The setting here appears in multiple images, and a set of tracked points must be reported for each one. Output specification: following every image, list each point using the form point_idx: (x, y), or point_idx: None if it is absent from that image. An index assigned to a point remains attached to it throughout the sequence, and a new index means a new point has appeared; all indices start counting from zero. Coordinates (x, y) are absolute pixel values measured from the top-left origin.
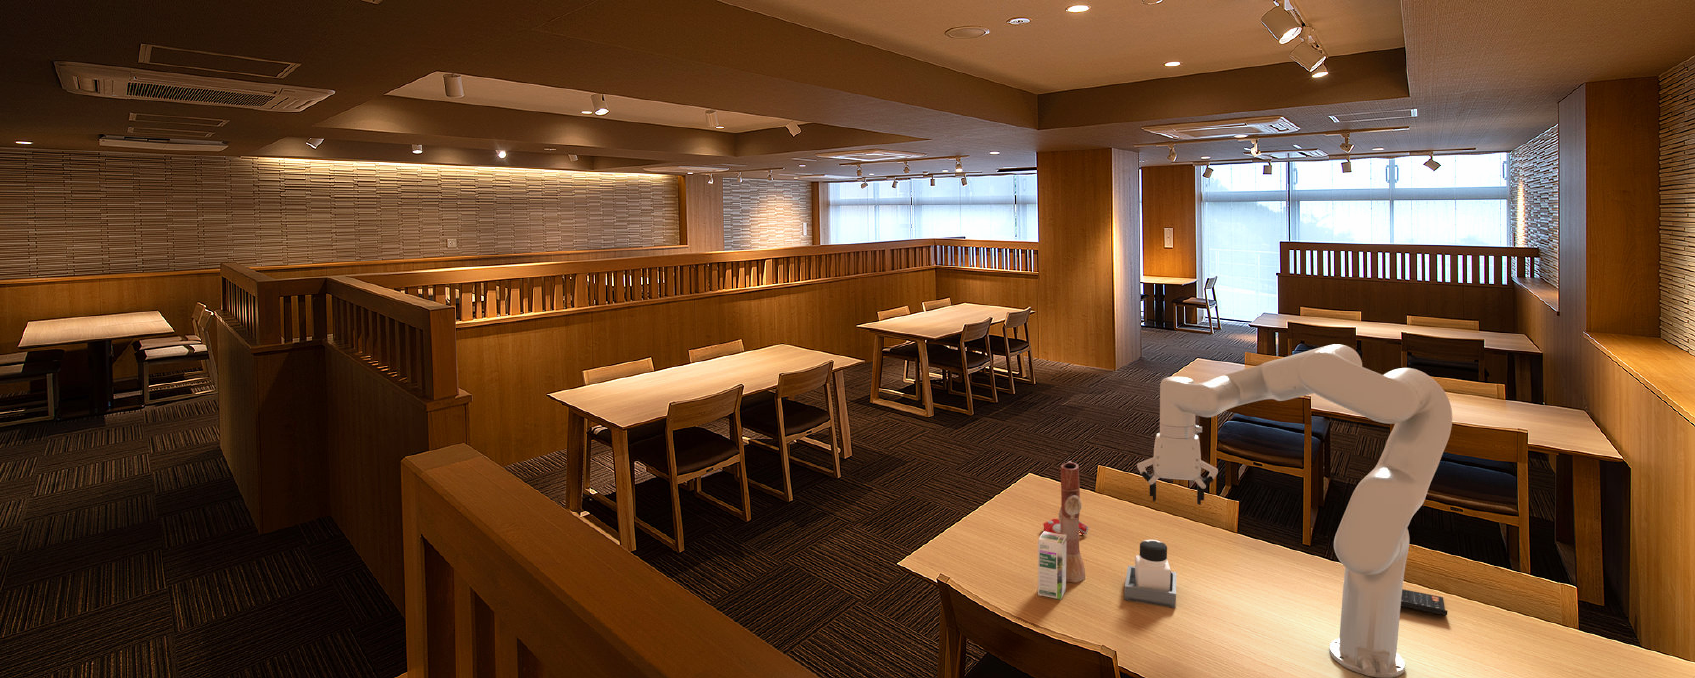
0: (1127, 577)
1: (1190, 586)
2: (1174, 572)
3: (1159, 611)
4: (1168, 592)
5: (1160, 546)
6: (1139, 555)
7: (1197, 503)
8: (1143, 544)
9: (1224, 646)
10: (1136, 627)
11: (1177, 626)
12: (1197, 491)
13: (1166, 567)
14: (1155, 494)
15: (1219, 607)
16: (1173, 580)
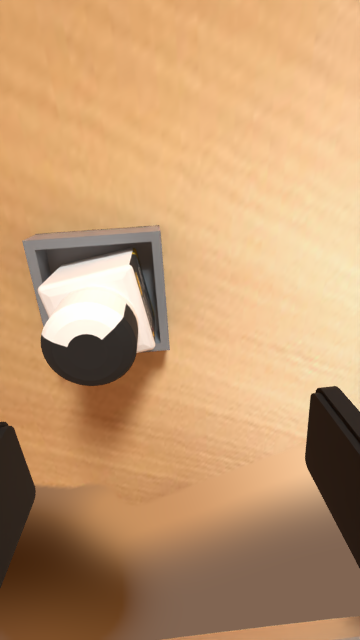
0: (44, 315)
1: (193, 213)
2: (154, 234)
3: (138, 358)
4: (152, 350)
5: (115, 364)
6: (49, 291)
7: (307, 464)
8: (56, 366)
9: (253, 422)
10: (109, 426)
11: (177, 396)
12: (353, 517)
13: (141, 342)
14: (14, 542)
15: (255, 294)
16: (157, 284)
